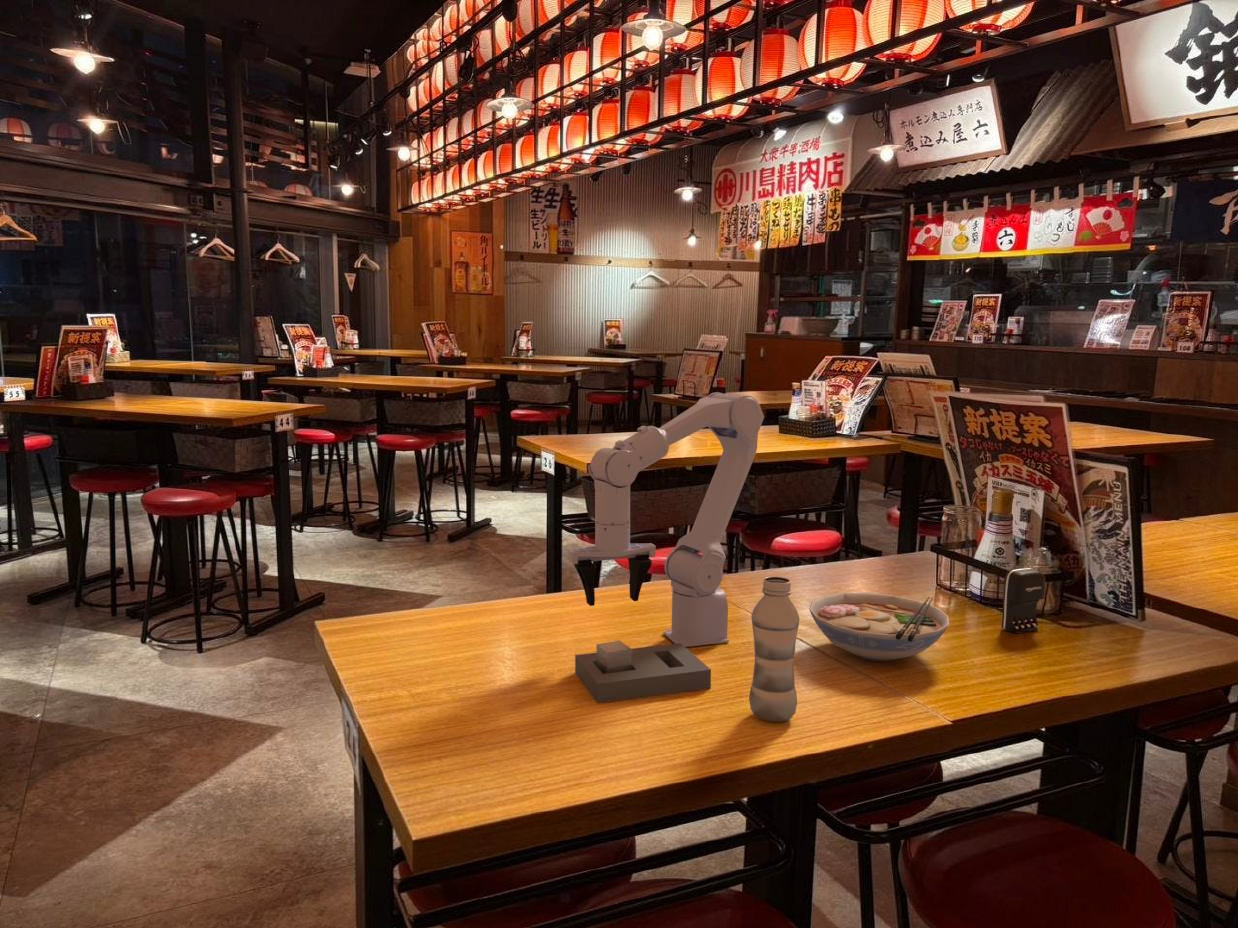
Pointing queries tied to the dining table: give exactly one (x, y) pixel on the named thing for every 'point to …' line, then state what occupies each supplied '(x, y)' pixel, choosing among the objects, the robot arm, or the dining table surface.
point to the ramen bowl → (879, 624)
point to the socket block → (645, 674)
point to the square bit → (613, 657)
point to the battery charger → (1022, 599)
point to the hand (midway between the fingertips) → (612, 601)
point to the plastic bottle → (774, 652)
